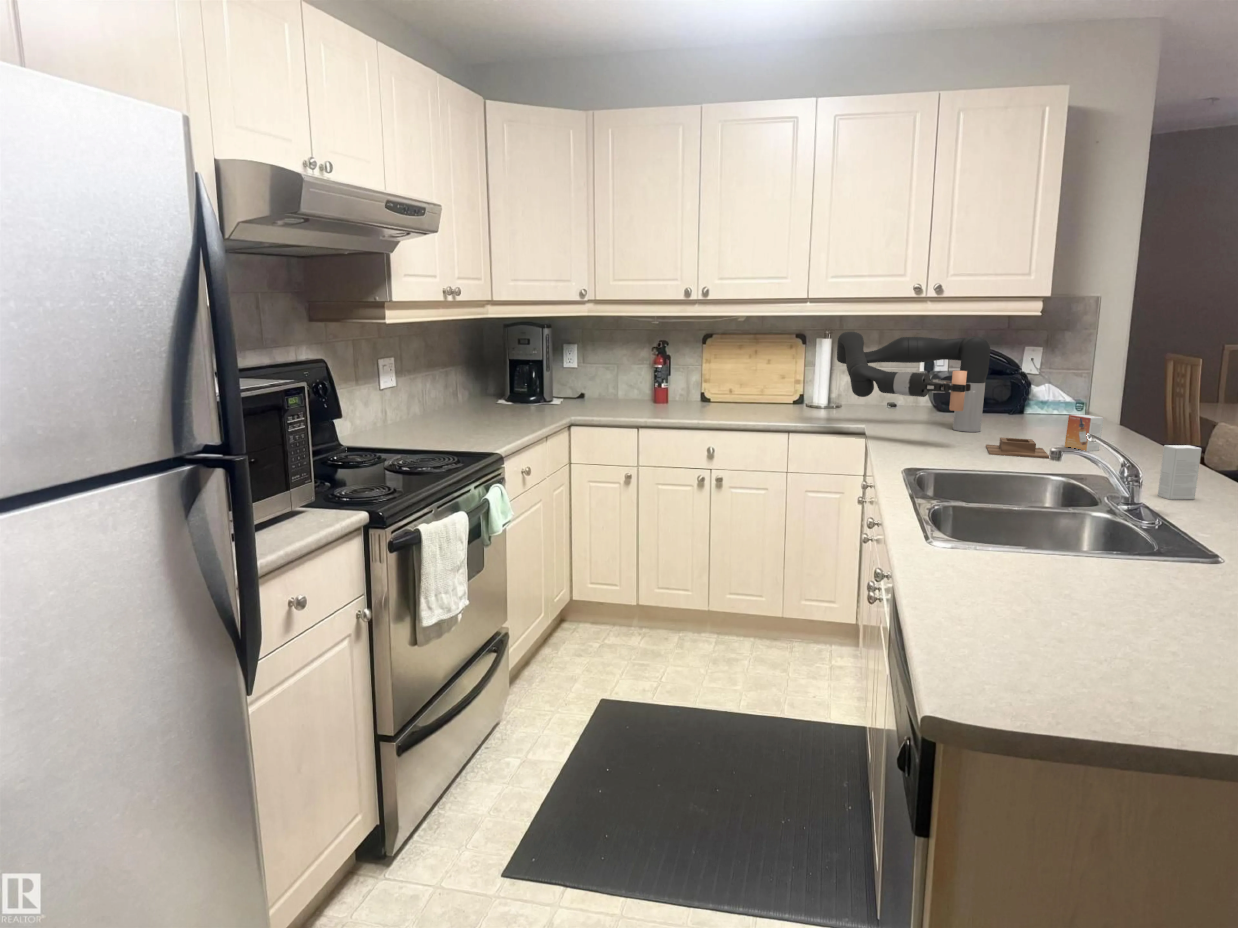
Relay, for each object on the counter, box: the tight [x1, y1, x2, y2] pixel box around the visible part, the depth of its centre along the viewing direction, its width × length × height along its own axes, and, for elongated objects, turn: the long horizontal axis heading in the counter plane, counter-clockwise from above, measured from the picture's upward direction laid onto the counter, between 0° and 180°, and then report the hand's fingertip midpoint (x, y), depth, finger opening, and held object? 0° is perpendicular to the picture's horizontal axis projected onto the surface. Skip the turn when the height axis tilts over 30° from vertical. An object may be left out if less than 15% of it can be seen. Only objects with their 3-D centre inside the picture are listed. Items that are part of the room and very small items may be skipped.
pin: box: [948, 370, 967, 412], centre depth 244 cm, size 4×4×12 cm
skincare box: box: [1157, 444, 1202, 500], centre depth 183 cm, size 6×4×12 cm
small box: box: [1064, 413, 1104, 452], centre depth 249 cm, size 8×6×10 cm
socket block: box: [985, 437, 1050, 460], centre depth 242 cm, size 16×16×4 cm
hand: (967, 388), depth 242 cm, fingers closed on pin, 4 cm apart
